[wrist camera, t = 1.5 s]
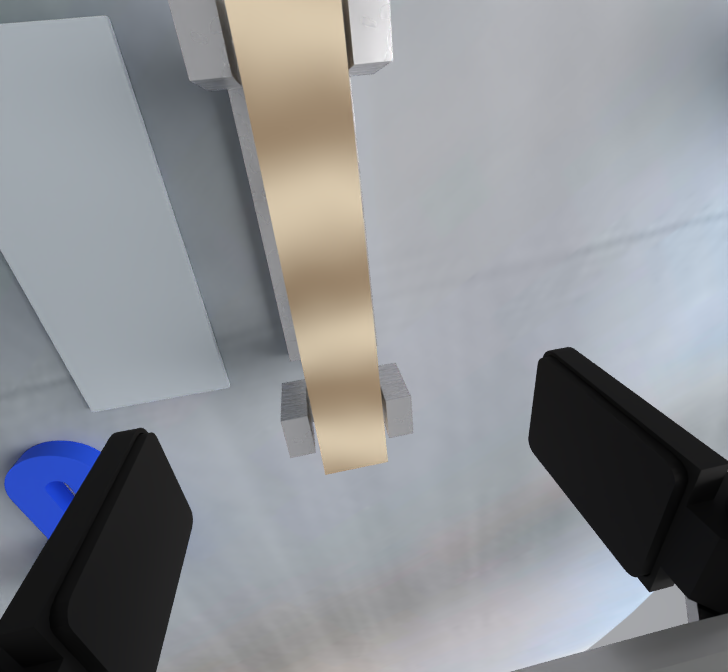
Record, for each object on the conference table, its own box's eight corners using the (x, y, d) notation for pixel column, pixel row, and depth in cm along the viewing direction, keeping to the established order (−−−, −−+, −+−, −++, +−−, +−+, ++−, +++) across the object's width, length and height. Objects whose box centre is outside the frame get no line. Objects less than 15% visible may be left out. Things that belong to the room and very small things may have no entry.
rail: (225, -33, 16) (207, -80, 12) (323, -40, 16) (332, -88, 13) (321, 431, 28) (325, 474, 24) (375, 420, 28) (387, 461, 24)
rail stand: (220, 49, 25) (161, -23, 13) (343, 38, 25) (387, -40, 14) (290, 354, 36) (290, 457, 24) (374, 340, 36) (413, 433, 25)
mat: (-112, 36, 22) (-122, 33, 21) (109, 17, 23) (105, 15, 23) (95, 408, 35) (92, 412, 34) (230, 384, 36) (229, 387, 35)
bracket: (170, 544, 45) (145, 632, 37) (98, 564, 44) (56, 657, 36) (90, 430, 36) (34, 513, 28) (-2, 452, 35) (-85, 543, 28)
